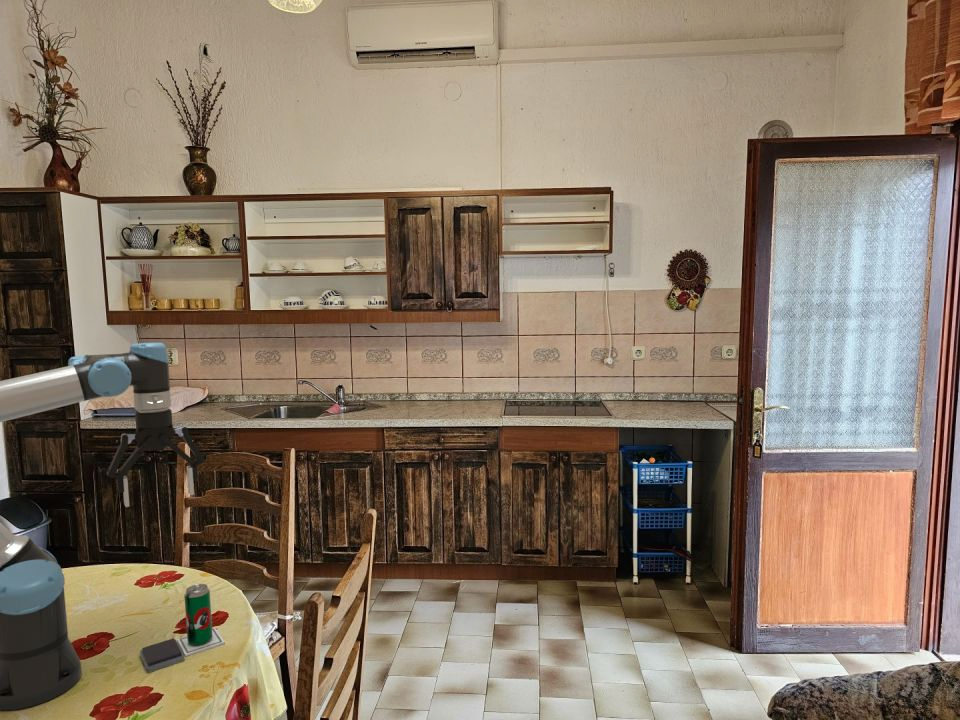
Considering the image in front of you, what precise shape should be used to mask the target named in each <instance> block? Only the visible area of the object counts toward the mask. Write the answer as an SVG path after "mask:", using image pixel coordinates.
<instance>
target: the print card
mask: <svg viewBox="0 0 960 720" xmlns="http://www.w3.org/2000/svg"><path fill="white" fill-rule="evenodd" d="M212 634H213V636H212V638H211V639H210V641H209V642H207V643H205V644H203V645H198V646H193V645H191V644H189V643H188V641H187V635H186V636H183V637H180V638H177V639H176V641H177V643H178V645H179V647H180V648H181V650H182V652H183V654H184V658H186V657H189V656H191V655H195V654H199V653H201V652H203V651H207V650H210V649H214V648H217V647H219V646H223V645H225V644H226V642H225V640H224V638H223V637H222V636H221V634H220V632H219V631H218V630H217V628H216V627H212Z"/></svg>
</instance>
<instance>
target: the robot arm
mask: <svg viewBox="0 0 960 720" xmlns="http://www.w3.org/2000/svg"><path fill="white" fill-rule="evenodd" d="M168 357H169V356H168V351H167V347H166V345H165V344H164V343H163V342H139V343H133V344H131V345H130V346H129V351H128V352H124V353H109V354H103V353H102V354H84V355H77V356H72V357H70V358H69V359H68V361H67V362H68V363H67V366H62V367H58V368H54V369H49V370H45V371H40V372H36V373H31V374H27V375H22V376H17V377H13V378H9V379H5V380H0V423H3V422H6V421H10V420H15V419H20V418H22V417H27V416H31V415H35V414H38V413H42V412H46V411H47V412H48V411H50V410H54V409H58V408H61V407H65V406H69V405H73V404H77V403H82V402H85V401H91V400H95V399H99V398H102V397H105V398H107V397H108V398H111V397H116V396H119V395H121V394H123V393H125V392H126V391H127V390H128V388H129V387H132V388H133V389H132V392H133V404H134V405H133V406H134V410H136V412H135V413H134V416H135V417H134V418H135V419H134V420H135V433H133V434H132V433H125V432H123V433H121V435H120V442H119V443H120V444H119V446H118V448H117V450H116V452H115V454H114V456H113V458H112V461H111V462H110V464H109V467H108V469H107V470H106V471H107V472H106V475H107V477H108V478H114V479H116V487H117V489H116V490H117V491H118V493H120V494H121V493H123V494H122V495H123V505H124V506H125V508H128V507H130V495H129V483H128V477H127V475H126V474H127V473H128V472H129V471H130V469H131V468H132V467H133V465H135V463H136V462H137V460H138V459H139V458H140V457H141V456H142V455H143V454H144V452H145V451H149V452H151V451H155V450H164V449H166V448H167V447H169V448H170V449H171V450H172V451H173V452H175V453H176V454H177V455H178V456H179V457H181V458H182V460H184V461H186V462H187V464H189V465H187V466H186V480H187V493H188V494H189V496H194V495H195V490H194V489H195V488H194V481H195V480H198V466H199V465H200V464H203V463H205V462H206V459H205V457H204V456H203V454H202V453H201V451H200V450H199V449H198V447H197V445H196V444H195V442H194V441H193V440H192V438H191V437H190V433H189V429H188V427H187V426H185V425H181V426H180V427H178V428H174V425H173V413H172V412H173V411H172V410H171V406H172V399H171V387H170V385H171V384H170V370H169V369H170V368H169V363H170V362H169V358H168ZM176 434H177V435H178V437H180V438H182V439H183V440H184V442H185V443H186V445H187V447H188V448H189V450H190V451H191V453H192V454H193V455H194V458H195V459H193V458H192V457H190V455H188V454H187V452H185V451H183V450H182V449H181V448H180V447H179V446H178V445H177V444H175V443H174V442H173V441H172V440H173V439H174V437H175V436H176ZM133 440H135V441H136V442H137V443H138V444H137V446H136V447H135V448H134V450H133V451H132V453H131V454H130V455H129V457H128V458H127V459H126V461H124V463H123V464H122V466H121V467H120V463H121V461H122V460H123V457H124V455H125V453H126V451H127V448H128V445H129V444H131V443H132V441H133ZM119 467H120V468H119ZM118 468H119V469H118ZM117 470H118V471H117ZM65 579H66V578H65V575H64V573H63V569H62V568H61V566H60V564H58V561H57V558H56V557H55V556H54V555H53V554H52V553H51V552H50V551H48V550H47V549H45V548H43V547H40V546H38V544H37V543H35V542H34V541H33V540H32V539H31V538H30V537H29V536H28V535H25V534H24V535H14V533H12V532H11V531H10V530H9V529H8V528H7V527H6V526H5V525H4V524H3V523H2V522H1V521H0V711H15V710H21V709H27V708H30V707H34V706H36V705H40V704H43V703H45V702H48V701H50V700H53V699H55V698H57V697H58V696H61V695H62V694H65V692H67V691H69V690H70V689H71V688H73V686H75V685H76V683H78V682H79V680H80V679H81V677H82V674H83V673H82V663H81V658H79V656H78V653H77V652H76V650H75V648H74V646H73V644H72V643H71V641H70V639H69V633H68V632H69V631H68V621H67V619H68V618H67V607H66V597H65V581H66V580H65Z"/></svg>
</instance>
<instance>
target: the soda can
mask: <svg viewBox="0 0 960 720" xmlns="http://www.w3.org/2000/svg"><path fill="white" fill-rule="evenodd" d="M183 597H184V608H185V609H184V610H185V611H184V612H185V623H186V626H185V627H186V636H187V641H188V643H189V644H191V645H193V646H198V645H203V644H205V643H207V642H209V641H210V639H211V638H212V636H213V634H212V628H213V622H212V620H213V619H212V605H211V591H210V589H209V587H208V585H207V584H206V583H196V584H193V585H190V586H188V587H187V588H186V589H185V593H184V596H183Z"/></svg>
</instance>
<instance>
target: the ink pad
mask: <svg viewBox="0 0 960 720" xmlns="http://www.w3.org/2000/svg"><path fill="white" fill-rule="evenodd" d="M139 657H140V659H141V662H142V664H143V666H144V669H145V671H146V674H149V673H151V672H155V671H158V670H160V669H164V668H167V667H170V666H173V665H175V664H178V663H181V662H185V655H184V653H183V651H182V649H181V648H180V646H179V644H178V642H177V639H175V638H174V637H173V638H170V639H167V640H163V641H160V642H157V643H154V644H151V645H147V646H145V647H141V649H140V650H139Z"/></svg>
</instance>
